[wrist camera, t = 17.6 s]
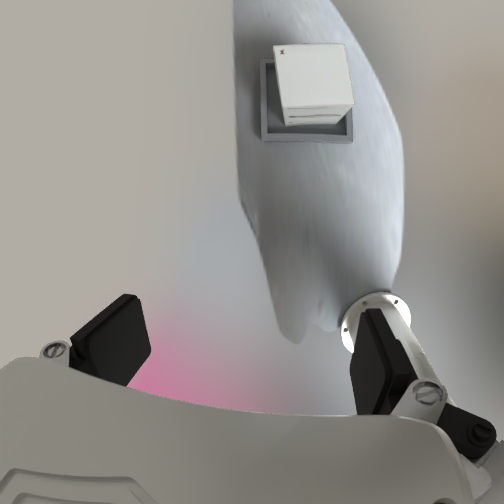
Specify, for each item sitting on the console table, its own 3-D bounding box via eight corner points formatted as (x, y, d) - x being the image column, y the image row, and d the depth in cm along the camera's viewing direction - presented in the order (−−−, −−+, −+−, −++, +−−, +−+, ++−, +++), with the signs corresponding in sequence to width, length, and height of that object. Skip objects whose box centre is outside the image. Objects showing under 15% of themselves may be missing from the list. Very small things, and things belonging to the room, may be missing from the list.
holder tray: (348, 144, 35) (353, 141, 32) (263, 141, 37) (261, 139, 34) (344, 67, 31) (347, 60, 28) (262, 66, 33) (259, 58, 30)
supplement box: (284, 128, 35) (278, 107, 23) (279, 80, 33) (270, 43, 21) (337, 126, 34) (356, 106, 22) (330, 78, 32) (344, 41, 20)
